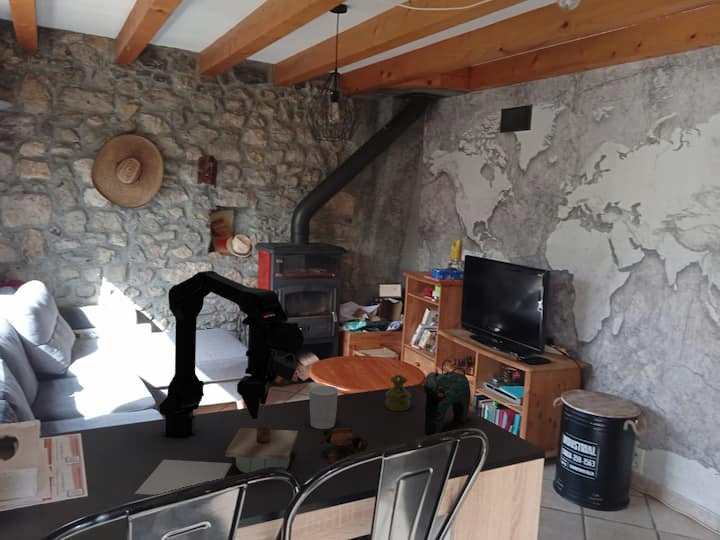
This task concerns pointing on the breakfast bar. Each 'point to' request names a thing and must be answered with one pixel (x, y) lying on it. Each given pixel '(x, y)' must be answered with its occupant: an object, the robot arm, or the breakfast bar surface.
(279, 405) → the breakfast bar surface
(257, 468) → the bowl
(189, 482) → the mat
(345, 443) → the brown piece
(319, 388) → the white cup
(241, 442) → the lid
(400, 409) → the olive green bottle-shaped piece
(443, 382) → the green elephant figurine
